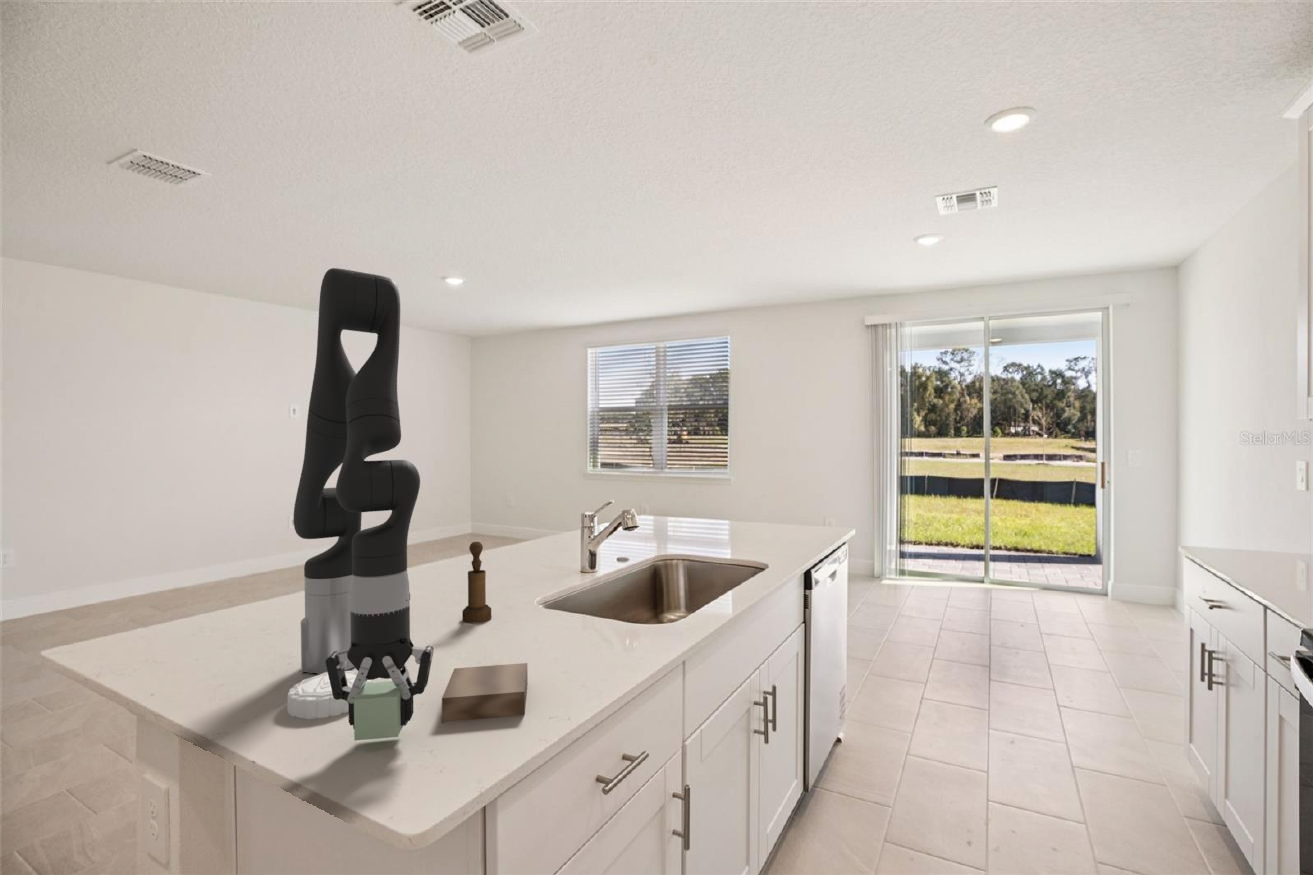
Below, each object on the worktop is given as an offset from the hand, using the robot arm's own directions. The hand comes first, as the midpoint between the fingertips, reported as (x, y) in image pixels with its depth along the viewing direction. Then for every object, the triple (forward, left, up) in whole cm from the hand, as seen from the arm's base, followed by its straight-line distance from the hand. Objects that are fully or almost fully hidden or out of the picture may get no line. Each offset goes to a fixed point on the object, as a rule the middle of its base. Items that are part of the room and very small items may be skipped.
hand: (381, 724), depth 86 cm
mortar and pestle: (+6, +58, -3) cm, 58 cm away
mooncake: (-12, +16, -3) cm, 20 cm away
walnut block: (+13, +11, -3) cm, 17 cm away
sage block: (0, 0, -1) cm, 1 cm away
